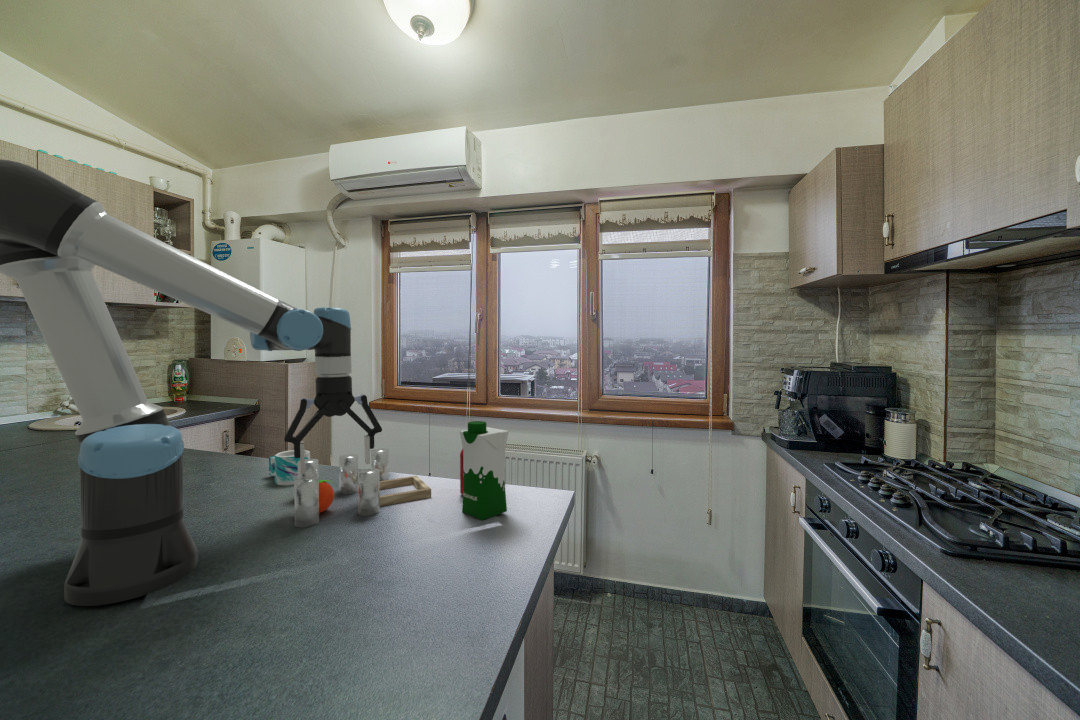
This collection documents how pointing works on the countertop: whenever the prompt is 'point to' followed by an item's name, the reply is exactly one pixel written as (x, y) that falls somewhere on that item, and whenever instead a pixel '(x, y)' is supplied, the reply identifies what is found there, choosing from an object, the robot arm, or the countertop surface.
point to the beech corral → (404, 496)
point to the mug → (285, 467)
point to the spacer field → (341, 485)
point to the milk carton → (483, 470)
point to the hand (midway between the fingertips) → (336, 467)
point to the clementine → (325, 495)
